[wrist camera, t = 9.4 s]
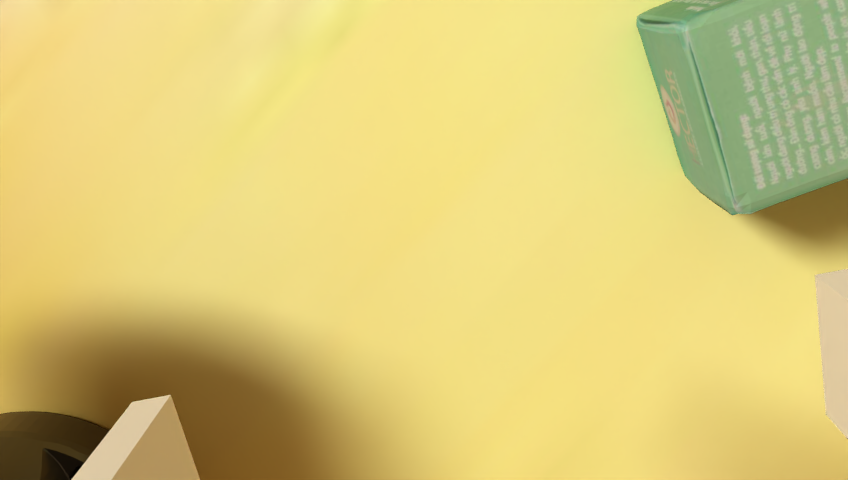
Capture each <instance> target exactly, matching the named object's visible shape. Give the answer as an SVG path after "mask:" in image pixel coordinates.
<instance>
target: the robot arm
mask: <svg viewBox="0 0 848 480" xmlns="http://www.w3.org/2000/svg"><path fill="white" fill-rule="evenodd" d="M815 283H816V295H817V308H818V321H819V333H820V346H821V359H822V371H823V384H824V397H825V409H826V415H827V416H828V417H829V419H830V420H831V421H832V422H833V423H834V424H835V425H836V426H837V428H838V429H839V430H840V431H841V432H842V433H843V434H844V435H845V437H846V438H847V439H848V269H844V270H839V271H834V272H828V273H823V274H818V275H815ZM0 480H200V478H199V475H198V472H197V469H196V466H195V463H194V460H193V457H192V454H191V452H190V449H189V446H188V443H187V440H186V437H185V434H184V431H183V428H182V426H181V423H180V420H179V417H178V414H177V411H176V408H175V405H174V402H173V400H172V397H171V395H167V396H161V397H156V398H151V399H145V400H140V401H135V402H132V403H131V404H130V405H129V407H128V408H127V409H126V410H125V412H124V413H123V414H122V416H121V417H120V418H119V419H118V421H117V422H116V423H115V424H114V426H113V427H112V428H111V430H110V431H108V430H106V429H104V428H102V427H100V426H97V425H95V424H92V423H90V422H87V421H83V420H80V419H77V418H73V417H69V416H65V415H60V414H54V413H46V412H10V413H3V414H0Z"/></svg>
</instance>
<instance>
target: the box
mask: <svg viewBox="0 0 848 480" xmlns="http://www.w3.org/2000/svg"><path fill="white" fill-rule="evenodd" d="M637 28H638V30H639V33H640V36H641V39H642V42H643V46H644V49H645V52H646V55H647V58H648V61H649V64H650V68H651V71H652V74H653V77H654V80H655V83H656V86H657V89H658V92H659V95H660V99H661V102H662V105H663V108H664V111H665V114H666V118H667V121H668V124H669V127H670V130H671V133H672V136H673V140H674V143H675V147H676V151H677V154H678V157H679V160H680V163H681V166H682V168H683V171H684V174H685V176H686V177H687V178H688V179H689V181H690V182H691V183H692V184H693V185H694V186H695V187H696V188H697V189H698V190H699V191H700V192H701V193H702V194H703V195H705V196H706V197H707V198H709V199H710V200H711V201H713V202H714V203H715V204H717V205H718V206H720V207H721V208H723V209H724V210H726V211H727V212H728V213H730V214H731V215H735V214H751V213H754V212H756V211H759V210H761V209H764V208H767V207H769V206H772V205H774V204H777V203H780V202H783V201H785V200H788V199H791V198H794V197H796V196H799V195H802V194H805V193H807V192H810V191H813V190H816V189H818V188H821V187H824V186H827V185H830V184H833V183H835V182H838V181H841V180H844V179H847V178H848V0H672V1H670V2H667V3H665V4H662V5H660V6H658V7H655V8H653V9H650V10H648V11H646V12H644V13H642V14H640V15H639V16H637Z"/></svg>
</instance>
